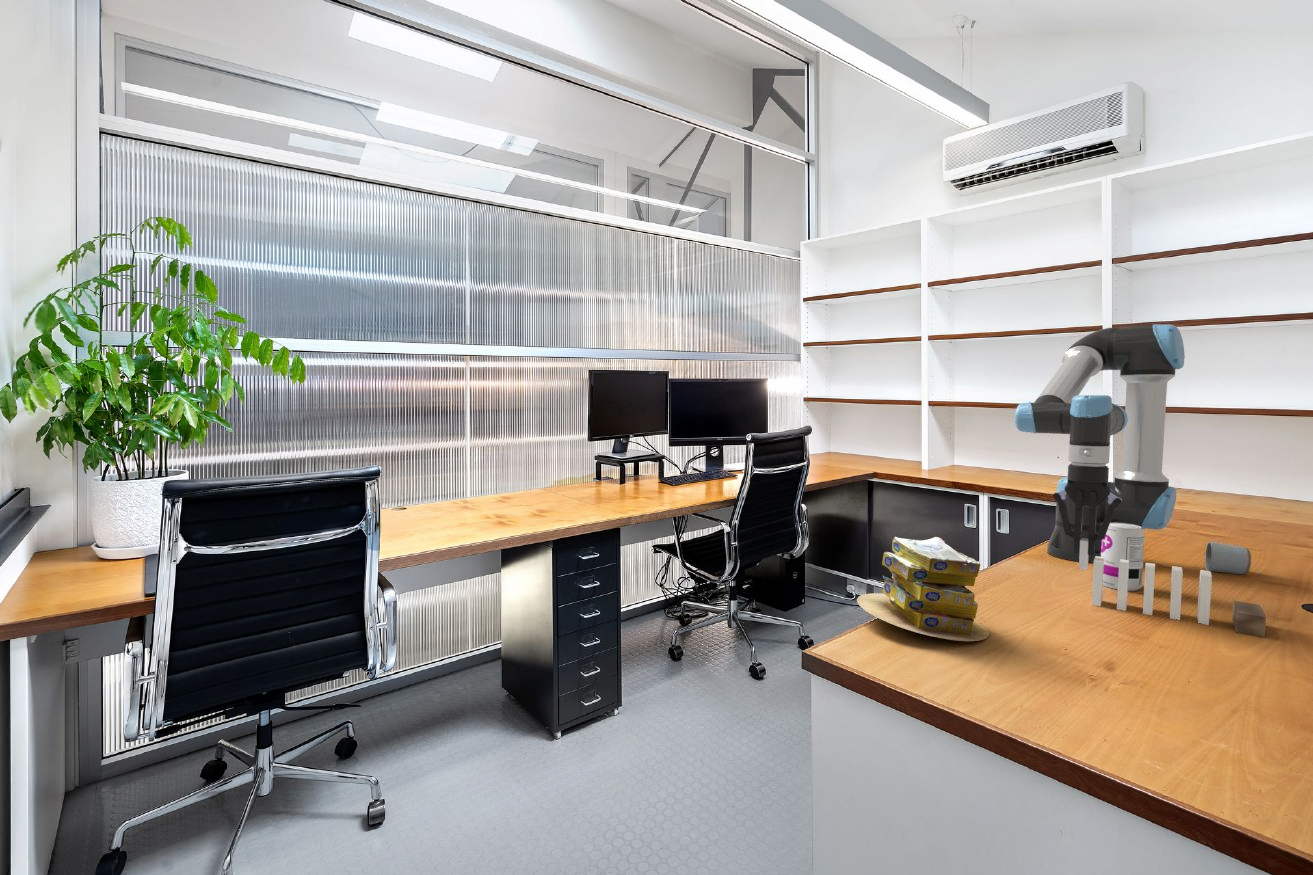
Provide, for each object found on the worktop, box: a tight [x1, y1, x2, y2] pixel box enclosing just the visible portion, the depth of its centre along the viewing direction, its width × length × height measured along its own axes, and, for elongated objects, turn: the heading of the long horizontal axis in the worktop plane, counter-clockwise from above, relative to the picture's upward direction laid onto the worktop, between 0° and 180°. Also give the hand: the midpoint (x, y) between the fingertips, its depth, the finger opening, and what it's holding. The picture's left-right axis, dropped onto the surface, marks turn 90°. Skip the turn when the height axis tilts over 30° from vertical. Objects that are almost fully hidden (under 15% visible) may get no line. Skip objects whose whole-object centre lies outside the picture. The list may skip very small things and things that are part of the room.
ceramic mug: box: [1204, 541, 1252, 575], centre depth 167 cm, size 11×8×8 cm
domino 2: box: [1116, 559, 1129, 612], centre depth 139 cm, size 2×5×10 cm, turn 141°
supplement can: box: [1101, 523, 1145, 592], centre depth 153 cm, size 8×8×15 cm
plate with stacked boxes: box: [856, 536, 990, 642], centre depth 128 cm, size 25×25×17 cm
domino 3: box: [1142, 562, 1156, 616], centre depth 136 cm, size 2×5×10 cm, turn 142°
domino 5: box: [1196, 569, 1213, 626], centre depth 130 cm, size 2×5×10 cm, turn 142°
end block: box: [1231, 600, 1267, 638], centre depth 126 cm, size 4×9×4 cm, turn 142°
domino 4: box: [1169, 565, 1183, 621], centre depth 133 cm, size 2×5×10 cm, turn 142°
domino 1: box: [1091, 556, 1104, 607], centre depth 142 cm, size 2×5×10 cm, turn 142°
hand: (1083, 567), depth 143 cm, fingers closed
